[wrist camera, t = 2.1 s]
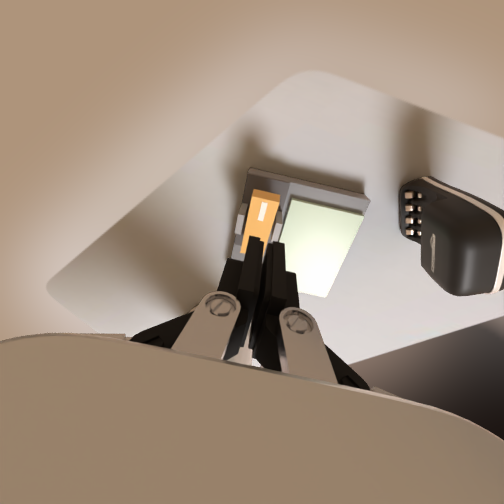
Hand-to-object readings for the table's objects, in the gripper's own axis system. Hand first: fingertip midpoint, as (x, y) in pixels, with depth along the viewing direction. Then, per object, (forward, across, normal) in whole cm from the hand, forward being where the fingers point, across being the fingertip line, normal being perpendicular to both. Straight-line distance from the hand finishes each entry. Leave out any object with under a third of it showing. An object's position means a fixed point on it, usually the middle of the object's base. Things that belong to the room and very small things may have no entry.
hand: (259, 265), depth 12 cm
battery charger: (+17, -16, 0) cm, 23 cm away
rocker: (+12, 0, +4) cm, 13 cm away
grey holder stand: (+17, -4, +6) cm, 19 cm away
